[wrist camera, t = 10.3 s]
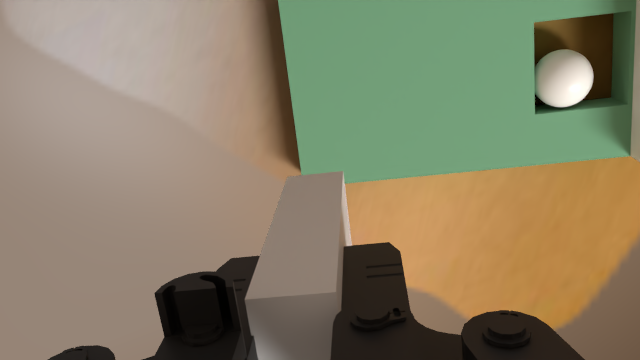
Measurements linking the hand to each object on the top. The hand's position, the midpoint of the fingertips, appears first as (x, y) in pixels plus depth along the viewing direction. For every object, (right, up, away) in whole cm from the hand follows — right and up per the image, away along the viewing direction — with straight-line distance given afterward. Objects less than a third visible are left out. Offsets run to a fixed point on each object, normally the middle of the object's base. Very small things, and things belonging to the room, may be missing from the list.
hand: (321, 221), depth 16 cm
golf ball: (+14, +8, +22) cm, 27 cm away
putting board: (+9, +8, +22) cm, 25 cm away
